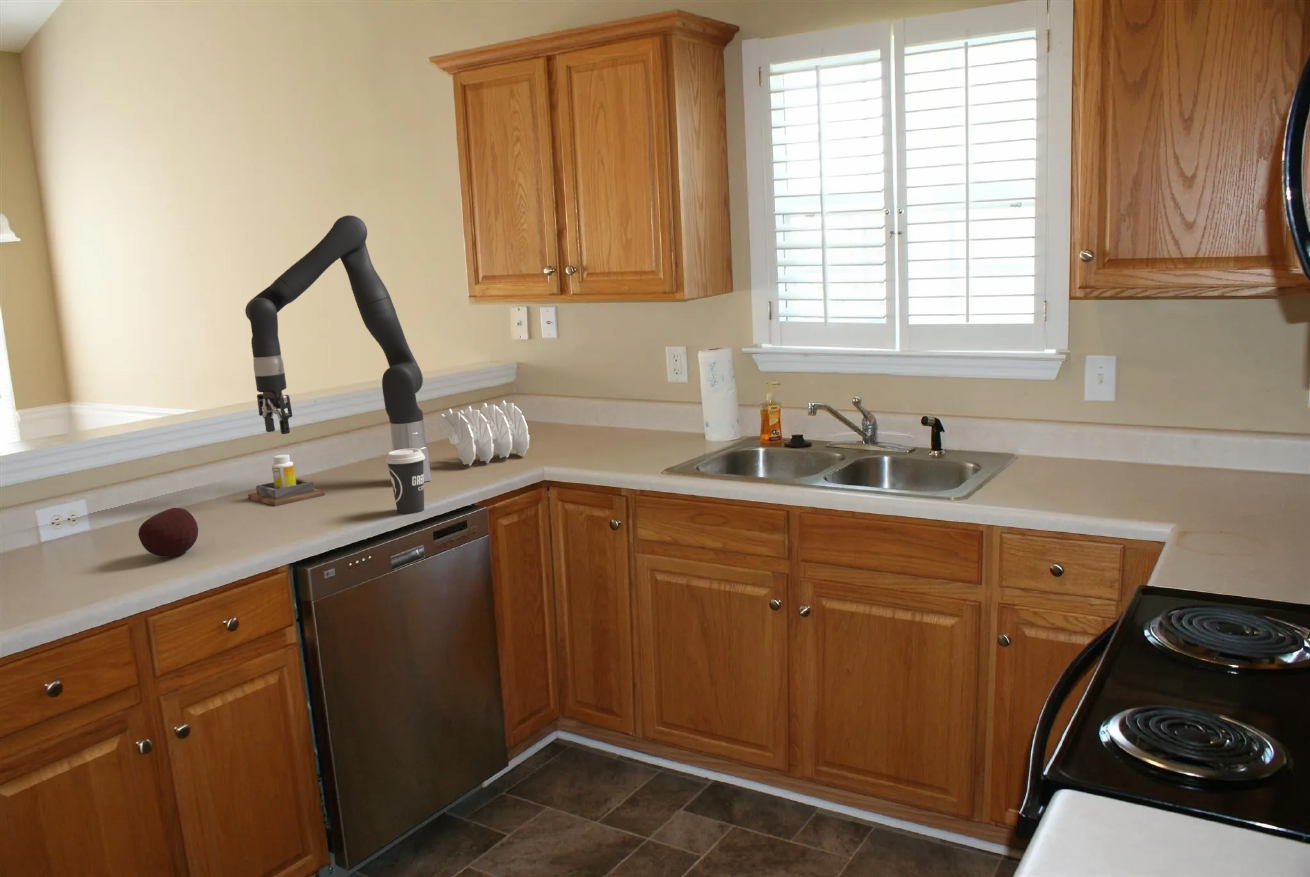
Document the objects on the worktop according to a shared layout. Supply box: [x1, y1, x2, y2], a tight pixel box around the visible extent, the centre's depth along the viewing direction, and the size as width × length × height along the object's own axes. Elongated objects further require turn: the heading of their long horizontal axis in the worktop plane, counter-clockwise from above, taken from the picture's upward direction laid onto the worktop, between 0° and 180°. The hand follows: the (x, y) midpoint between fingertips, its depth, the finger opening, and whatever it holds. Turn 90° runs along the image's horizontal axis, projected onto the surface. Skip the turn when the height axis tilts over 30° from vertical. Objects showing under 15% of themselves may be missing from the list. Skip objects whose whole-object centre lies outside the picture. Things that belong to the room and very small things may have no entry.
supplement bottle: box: [271, 454, 296, 489], centre depth 282 cm, size 6×6×10 cm
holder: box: [247, 477, 325, 507], centre depth 283 cm, size 16×14×4 cm
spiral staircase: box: [439, 400, 531, 467], centre depth 314 cm, size 18×18×25 cm
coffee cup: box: [385, 448, 425, 515], centre depth 257 cm, size 10×10×15 cm
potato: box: [137, 507, 199, 557], centre depth 229 cm, size 11×13×10 cm
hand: (278, 432), depth 279 cm, fingers open, 8 cm apart
